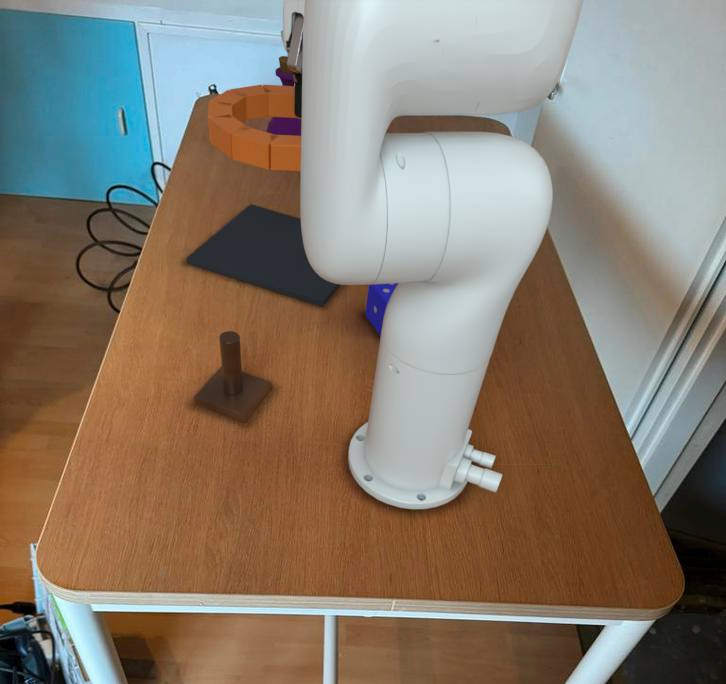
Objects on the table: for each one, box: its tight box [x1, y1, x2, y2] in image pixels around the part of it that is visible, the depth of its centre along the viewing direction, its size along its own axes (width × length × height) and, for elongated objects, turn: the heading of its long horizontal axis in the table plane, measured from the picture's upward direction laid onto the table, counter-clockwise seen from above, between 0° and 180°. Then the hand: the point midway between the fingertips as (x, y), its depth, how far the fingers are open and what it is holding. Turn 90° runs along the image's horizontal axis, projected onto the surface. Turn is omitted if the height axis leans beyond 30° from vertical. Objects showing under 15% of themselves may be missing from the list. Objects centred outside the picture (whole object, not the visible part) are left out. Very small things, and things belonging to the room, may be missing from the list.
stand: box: [193, 330, 272, 424], centre depth 67 cm, size 6×6×8 cm
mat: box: [185, 203, 341, 307], centre depth 89 cm, size 20×18×1 cm
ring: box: [207, 84, 302, 172], centre depth 78 cm, size 18×18×3 cm
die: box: [364, 283, 398, 337], centre depth 80 cm, size 5×5×5 cm
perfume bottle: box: [265, 30, 302, 136], centre depth 104 cm, size 8×8×18 cm
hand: (312, 112), depth 83 cm, fingers closed on ring, 2 cm apart
